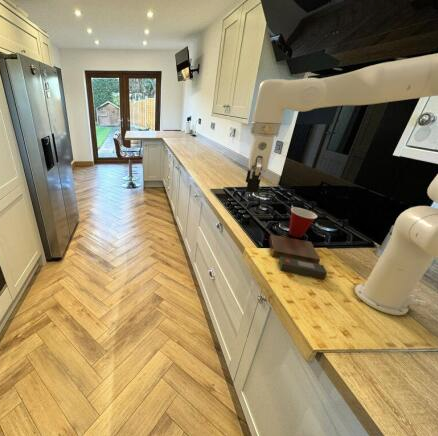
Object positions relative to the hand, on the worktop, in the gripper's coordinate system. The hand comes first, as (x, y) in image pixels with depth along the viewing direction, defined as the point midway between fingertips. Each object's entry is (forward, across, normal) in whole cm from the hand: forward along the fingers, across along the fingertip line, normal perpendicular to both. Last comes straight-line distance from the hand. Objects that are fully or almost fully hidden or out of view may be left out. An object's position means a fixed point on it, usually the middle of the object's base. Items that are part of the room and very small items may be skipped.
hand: (251, 186), depth 74 cm
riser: (+31, +20, -23) cm, 44 cm away
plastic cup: (+31, +38, -28) cm, 57 cm away
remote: (+31, +7, -24) cm, 40 cm away
